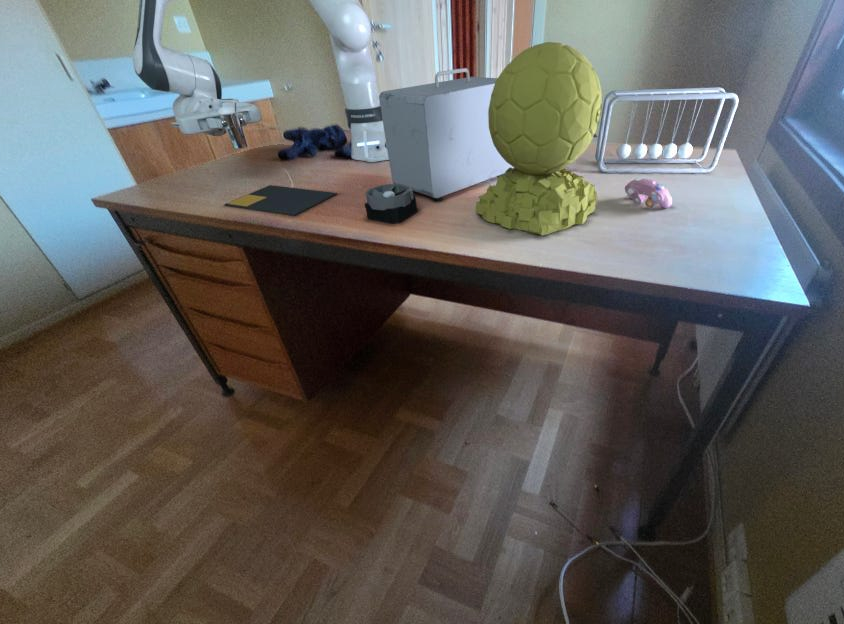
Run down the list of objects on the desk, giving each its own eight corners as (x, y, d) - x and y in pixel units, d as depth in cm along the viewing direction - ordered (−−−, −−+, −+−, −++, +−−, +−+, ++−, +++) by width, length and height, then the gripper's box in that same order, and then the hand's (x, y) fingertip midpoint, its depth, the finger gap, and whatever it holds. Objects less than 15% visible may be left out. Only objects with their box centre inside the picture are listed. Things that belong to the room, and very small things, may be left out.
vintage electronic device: (472, 163, 120) (469, 62, 104) (517, 173, 110) (521, 63, 94) (389, 190, 104) (370, 76, 88) (433, 205, 94) (421, 79, 78)
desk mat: (337, 194, 104) (336, 192, 103) (295, 216, 93) (294, 214, 93) (270, 186, 112) (269, 184, 111) (224, 205, 101) (224, 203, 101)
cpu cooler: (355, 194, 86) (384, 180, 92) (361, 219, 89) (388, 205, 96) (393, 200, 81) (420, 185, 88) (397, 226, 85) (423, 210, 92)
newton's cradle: (596, 173, 107) (609, 96, 96) (593, 162, 115) (605, 90, 103) (713, 173, 103) (742, 92, 91) (702, 162, 110) (728, 86, 99)
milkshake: (245, 149, 100) (229, 104, 94) (227, 149, 101) (210, 104, 95) (256, 145, 103) (241, 101, 97) (238, 145, 104) (222, 101, 98)
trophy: (607, 211, 86) (642, 36, 66) (546, 244, 75) (566, 46, 55) (528, 191, 99) (538, 38, 79) (466, 216, 88) (459, 46, 68)
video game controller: (623, 207, 92) (620, 182, 86) (635, 194, 92) (634, 168, 87) (661, 219, 86) (660, 193, 80) (674, 205, 86) (675, 178, 81)
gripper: (162, 109, 97) (184, 114, 90) (241, 97, 108) (265, 100, 101) (175, 138, 101) (197, 144, 94) (250, 123, 112) (274, 128, 105)
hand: (233, 121), depth 98 cm, fingers closed on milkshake, 4 cm apart
